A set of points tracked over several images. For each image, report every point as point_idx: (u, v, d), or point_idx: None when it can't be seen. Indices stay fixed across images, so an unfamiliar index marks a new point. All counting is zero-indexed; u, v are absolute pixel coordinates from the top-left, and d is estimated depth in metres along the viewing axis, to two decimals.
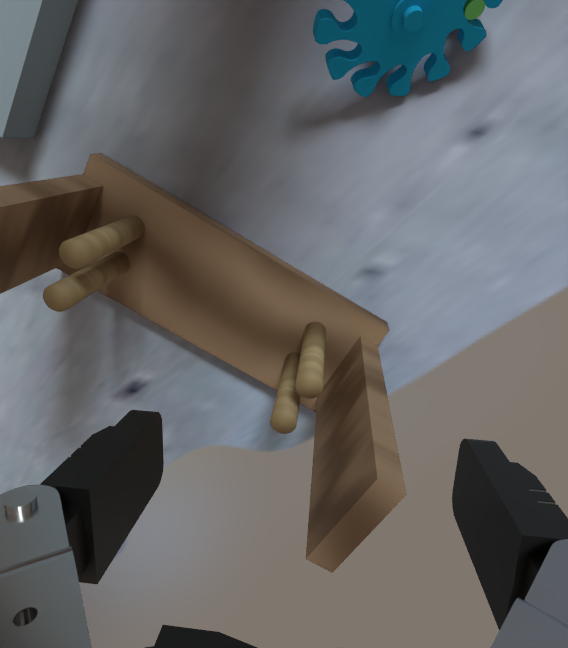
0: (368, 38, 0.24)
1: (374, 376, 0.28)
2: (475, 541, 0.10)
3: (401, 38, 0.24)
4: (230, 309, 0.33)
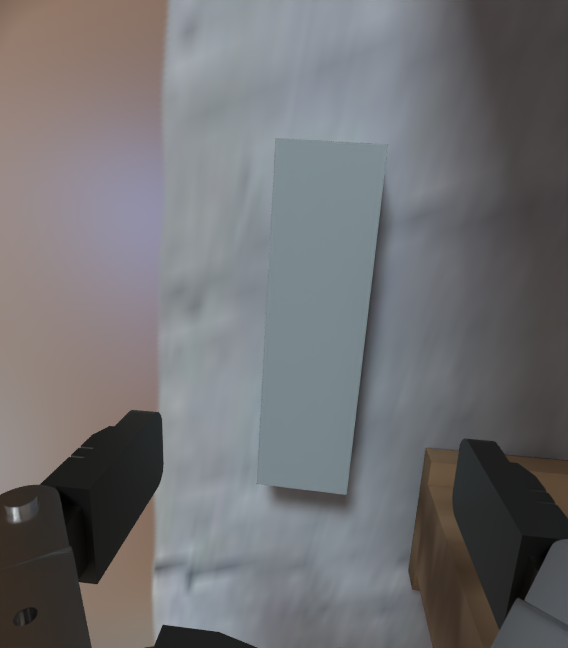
0: None
1: None
2: (475, 541, 0.10)
3: None
4: None
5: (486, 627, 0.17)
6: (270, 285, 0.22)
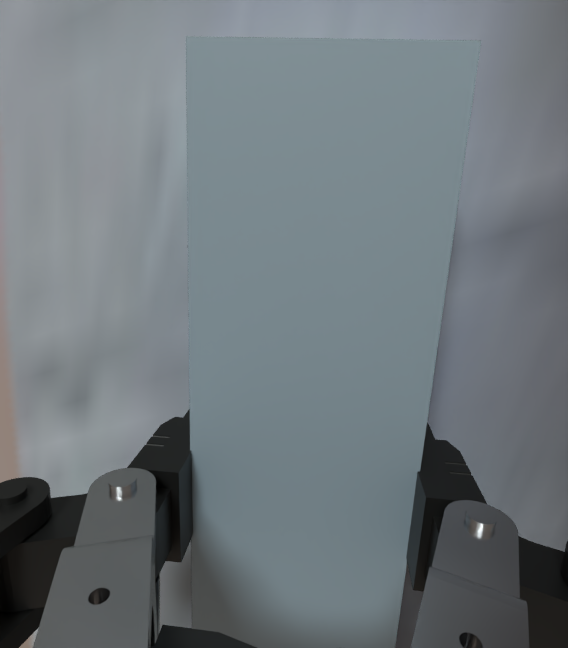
0: None
1: None
2: None
3: None
4: None
5: None
6: (195, 392, 0.09)
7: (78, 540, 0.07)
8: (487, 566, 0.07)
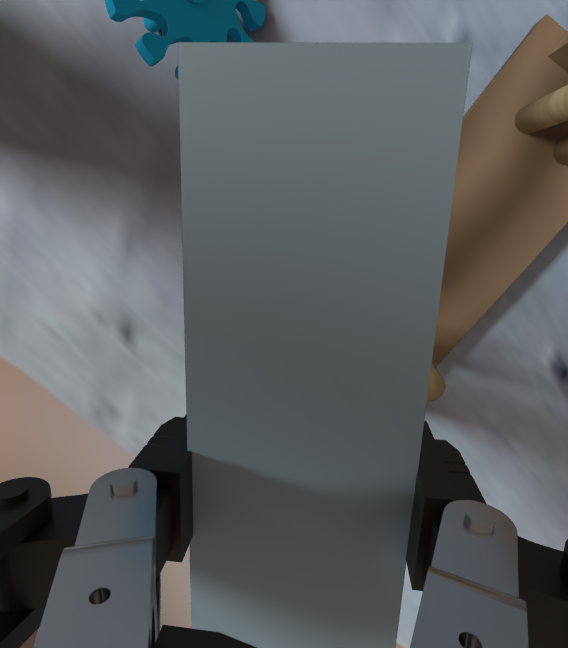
0: (206, 31, 0.25)
1: None
2: None
3: None
4: (479, 225, 0.28)
5: None
6: (192, 397, 0.09)
7: (79, 539, 0.07)
8: (486, 566, 0.07)
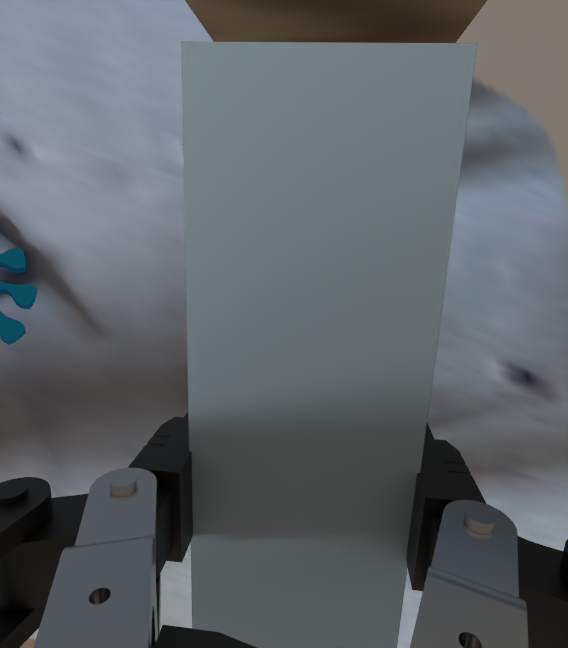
0: None
1: None
2: None
3: None
4: None
5: None
6: (194, 397, 0.09)
7: (79, 540, 0.07)
8: (486, 565, 0.07)
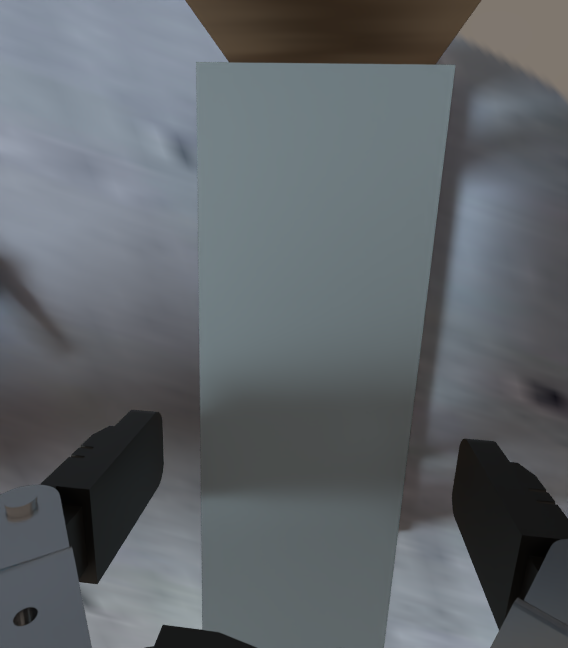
0: None
1: None
2: (475, 541, 0.10)
3: None
4: None
5: None
6: (205, 379, 0.11)
7: None
8: None
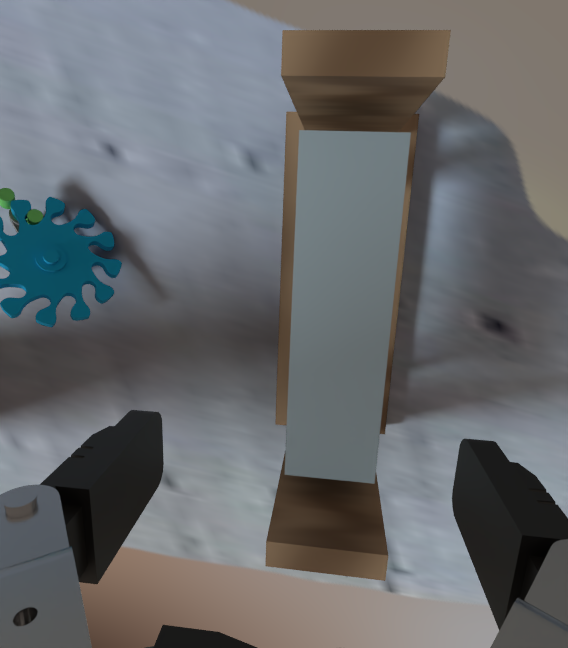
0: (76, 280, 0.34)
1: None
2: (475, 541, 0.10)
3: (69, 257, 0.34)
4: None
5: None
6: (295, 276, 0.22)
7: None
8: None
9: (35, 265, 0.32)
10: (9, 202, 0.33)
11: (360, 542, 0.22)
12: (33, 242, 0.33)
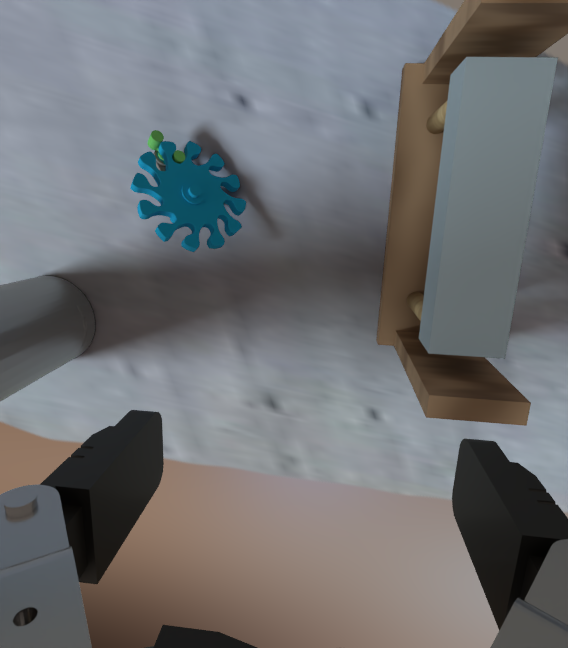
0: (213, 213, 0.39)
1: (438, 51, 0.31)
2: (475, 541, 0.10)
3: (207, 193, 0.39)
4: None
5: (410, 376, 0.34)
6: (453, 179, 0.27)
7: None
8: None
9: (182, 197, 0.38)
10: (158, 143, 0.38)
11: (504, 396, 0.28)
12: (179, 178, 0.38)
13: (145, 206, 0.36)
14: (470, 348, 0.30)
